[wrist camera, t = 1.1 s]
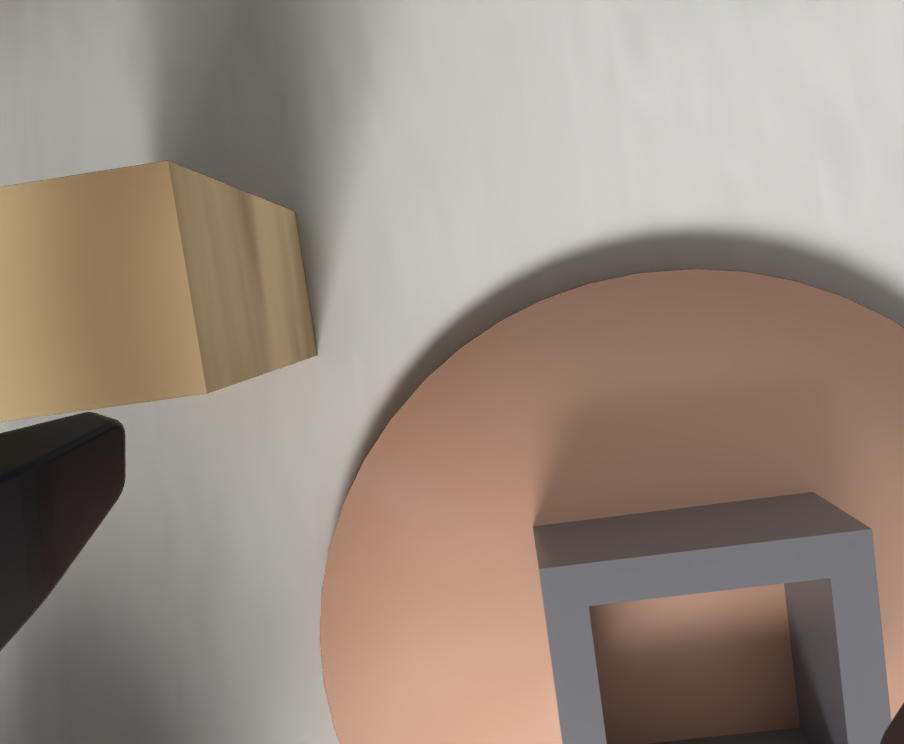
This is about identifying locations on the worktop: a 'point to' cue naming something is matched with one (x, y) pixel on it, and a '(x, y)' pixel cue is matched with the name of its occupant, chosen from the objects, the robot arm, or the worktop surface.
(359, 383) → the worktop surface
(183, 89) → the worktop surface
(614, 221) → the worktop surface
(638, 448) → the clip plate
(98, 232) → the oak peg
